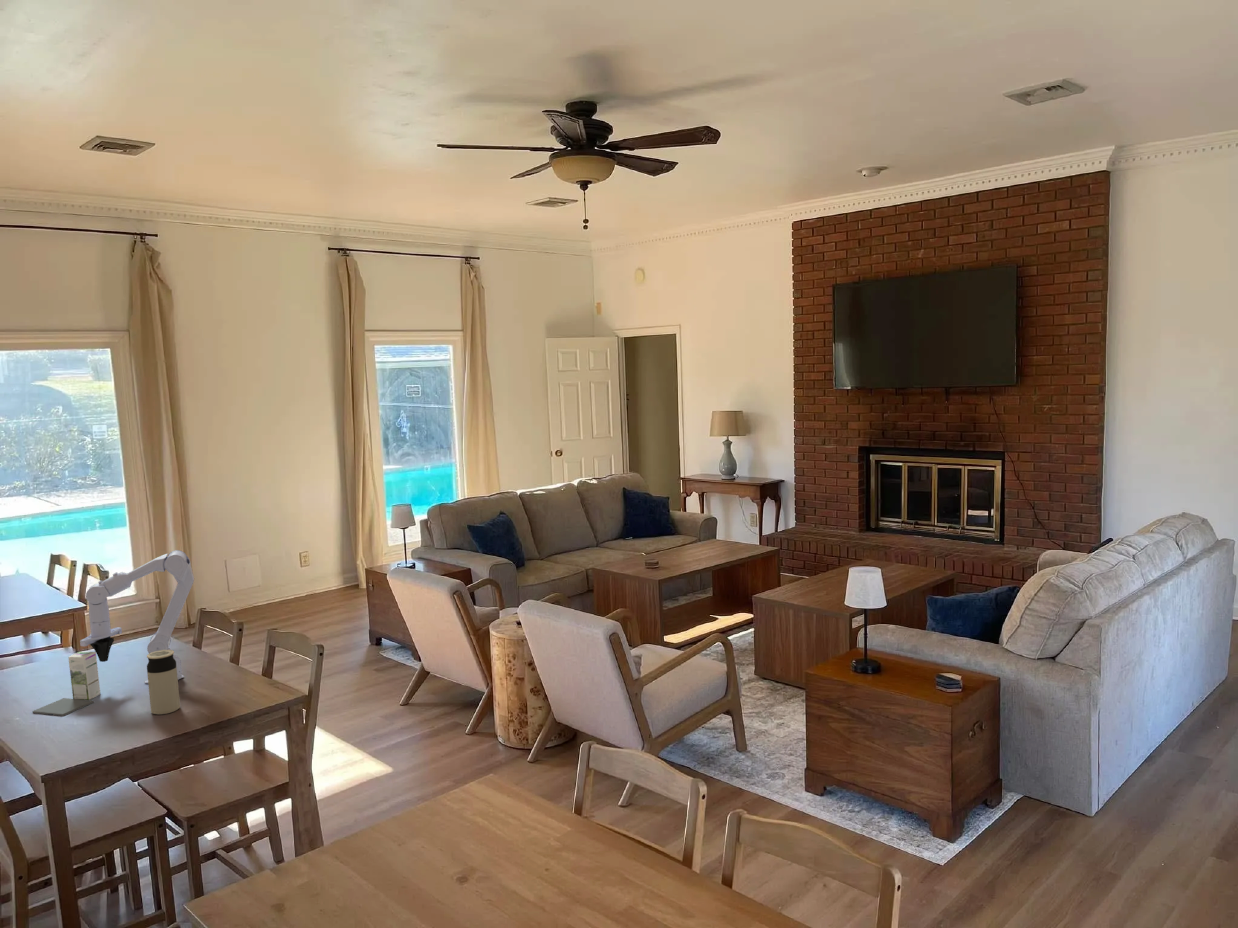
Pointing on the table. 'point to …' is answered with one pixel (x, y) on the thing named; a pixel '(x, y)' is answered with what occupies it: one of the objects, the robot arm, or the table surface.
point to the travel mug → (163, 682)
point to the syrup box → (84, 675)
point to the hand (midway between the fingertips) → (103, 660)
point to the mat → (63, 706)
